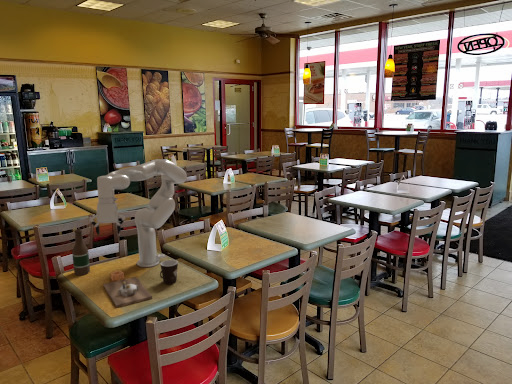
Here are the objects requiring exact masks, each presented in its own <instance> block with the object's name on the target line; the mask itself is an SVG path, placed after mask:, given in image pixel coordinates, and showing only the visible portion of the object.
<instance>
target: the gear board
mask: <svg viewBox="0 0 512 384" xmlns="http://www.w3.org/2000/svg"><path fill="white" fill-rule="evenodd" d="M103 287H104V289H105V291H106V293H107V294H108V296H109V298H110V300H111V301H112V303H113V304H114V306H115V308H120V307H124V306H128V305H132V304H135V303H136V304H137V303H140V302H145V301H148V300H152V299H153V295H152V294H151V293H150V292H149V291H148V289H147V288H146V287H145V286H144V285H143V283H142V282H141V280H140V279H139V278H138V277H137V276H133V277H130V278H124V279H121V280H119V281H118V280H117V281H115V280H114V281H111V282H107V283H103Z"/></svg>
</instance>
